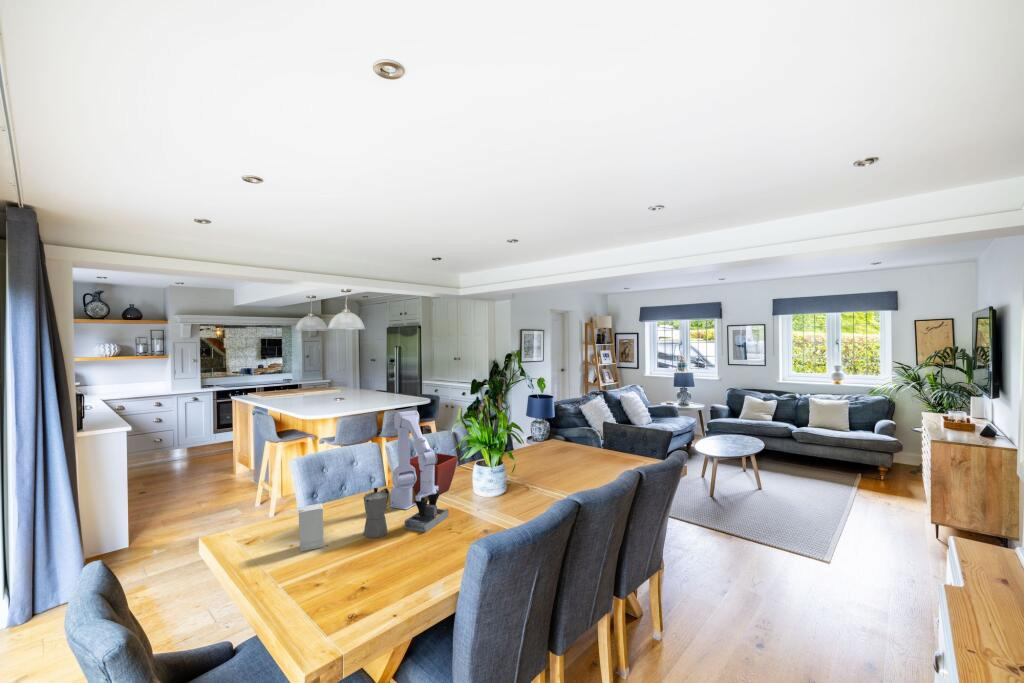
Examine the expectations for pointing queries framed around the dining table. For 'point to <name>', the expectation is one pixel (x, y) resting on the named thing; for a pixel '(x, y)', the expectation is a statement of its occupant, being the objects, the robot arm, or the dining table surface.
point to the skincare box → (311, 527)
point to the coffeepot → (375, 513)
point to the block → (430, 511)
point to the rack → (425, 521)
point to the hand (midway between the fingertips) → (427, 512)
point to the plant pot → (437, 472)
